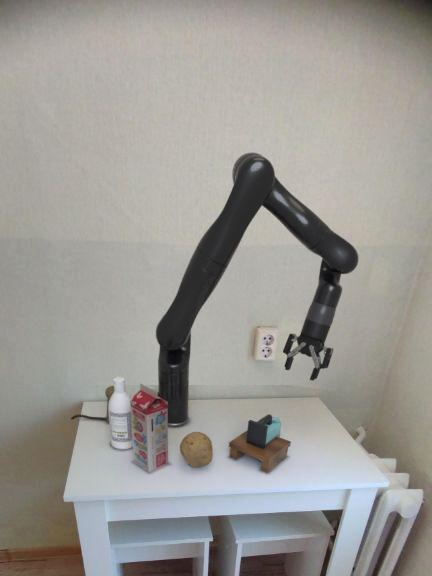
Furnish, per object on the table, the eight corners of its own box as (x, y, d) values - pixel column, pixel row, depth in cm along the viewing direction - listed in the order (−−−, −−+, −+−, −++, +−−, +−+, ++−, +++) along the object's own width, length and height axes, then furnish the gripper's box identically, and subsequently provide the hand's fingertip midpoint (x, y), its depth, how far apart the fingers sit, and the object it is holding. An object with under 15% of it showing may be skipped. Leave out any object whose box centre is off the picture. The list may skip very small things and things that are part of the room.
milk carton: (152, 453, 130) (150, 380, 118) (168, 463, 127) (167, 389, 114) (133, 462, 127) (129, 386, 114) (148, 472, 123) (146, 395, 110)
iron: (267, 427, 137) (270, 405, 133) (284, 433, 134) (288, 411, 130) (246, 442, 129) (248, 419, 124) (263, 449, 126) (266, 426, 122)
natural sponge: (181, 455, 131) (181, 423, 125) (212, 457, 131) (214, 425, 125) (178, 472, 123) (178, 440, 118) (211, 475, 123) (213, 442, 118)
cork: (121, 425, 143) (119, 392, 137) (103, 423, 144) (100, 390, 138) (128, 417, 148) (126, 384, 142) (110, 414, 149) (108, 382, 142)
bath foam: (137, 448, 133) (134, 382, 121) (113, 451, 130) (108, 385, 119) (132, 436, 138) (129, 372, 126) (109, 439, 136) (103, 375, 124)
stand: (250, 441, 139) (252, 426, 136) (288, 456, 133) (290, 441, 130) (227, 457, 131) (229, 442, 128) (267, 474, 125) (269, 458, 122)
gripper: (291, 312, 132) (273, 367, 139) (336, 328, 126) (315, 384, 133) (302, 313, 138) (284, 366, 145) (345, 328, 132) (325, 382, 139)
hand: (299, 374), depth 139 cm, fingers open, 8 cm apart
